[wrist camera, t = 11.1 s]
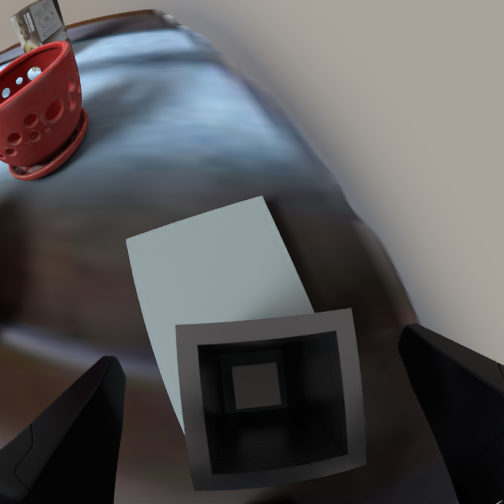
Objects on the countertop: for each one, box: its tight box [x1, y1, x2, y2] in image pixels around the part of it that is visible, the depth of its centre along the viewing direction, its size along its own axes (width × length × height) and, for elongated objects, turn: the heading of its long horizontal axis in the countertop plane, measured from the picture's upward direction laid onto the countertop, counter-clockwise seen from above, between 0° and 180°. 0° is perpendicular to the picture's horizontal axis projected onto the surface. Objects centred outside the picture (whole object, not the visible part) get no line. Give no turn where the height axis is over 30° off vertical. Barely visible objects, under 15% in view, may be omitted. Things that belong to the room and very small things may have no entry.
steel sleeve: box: [175, 308, 367, 491], centre depth 12 cm, size 5×5×10 cm
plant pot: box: [0, 41, 88, 181], centre depth 20 cm, size 13×13×12 cm
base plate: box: [126, 196, 314, 434], centre depth 17 cm, size 16×11×4 cm
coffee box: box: [11, 0, 73, 71], centre depth 28 cm, size 9×6×16 cm
